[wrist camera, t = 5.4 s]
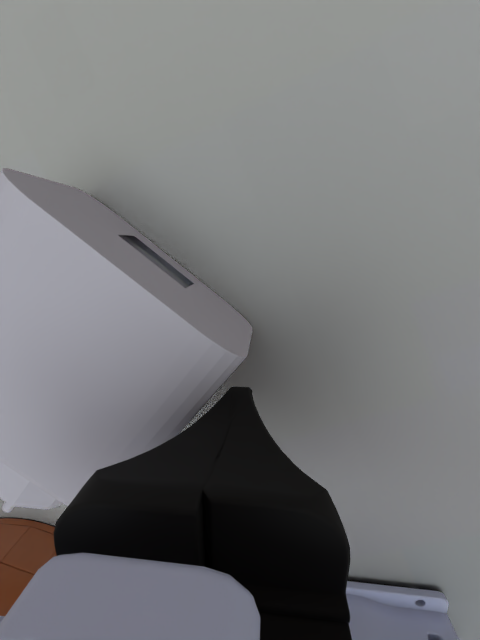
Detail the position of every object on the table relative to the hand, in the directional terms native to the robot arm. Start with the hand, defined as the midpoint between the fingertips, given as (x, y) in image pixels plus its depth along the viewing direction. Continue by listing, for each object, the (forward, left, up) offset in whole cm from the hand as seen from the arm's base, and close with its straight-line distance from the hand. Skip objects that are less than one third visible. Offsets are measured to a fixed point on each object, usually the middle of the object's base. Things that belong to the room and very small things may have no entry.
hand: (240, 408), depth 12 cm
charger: (+8, 0, -2) cm, 8 cm away
